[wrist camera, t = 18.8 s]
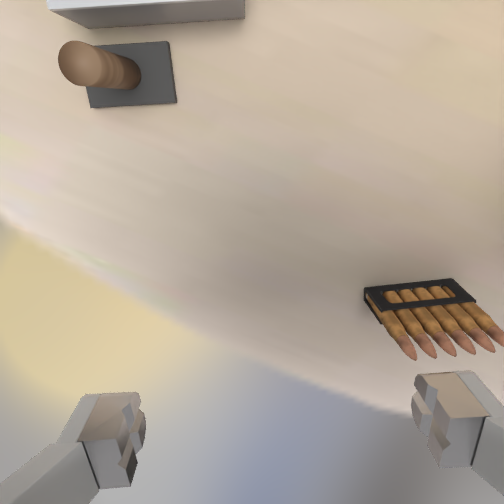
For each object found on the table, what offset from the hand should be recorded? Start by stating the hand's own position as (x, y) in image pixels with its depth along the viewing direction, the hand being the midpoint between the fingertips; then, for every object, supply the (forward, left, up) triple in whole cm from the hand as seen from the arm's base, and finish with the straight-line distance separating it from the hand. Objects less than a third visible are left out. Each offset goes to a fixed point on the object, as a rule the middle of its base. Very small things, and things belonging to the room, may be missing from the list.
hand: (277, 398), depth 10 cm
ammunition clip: (-18, +14, -29) cm, 37 cm away
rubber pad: (+11, -11, -29) cm, 33 cm away
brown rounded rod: (+11, -11, -28) cm, 32 cm away
